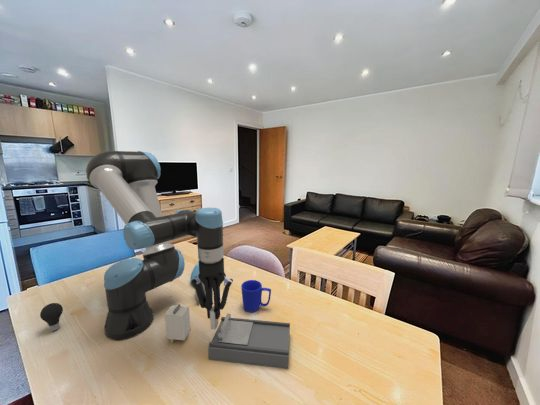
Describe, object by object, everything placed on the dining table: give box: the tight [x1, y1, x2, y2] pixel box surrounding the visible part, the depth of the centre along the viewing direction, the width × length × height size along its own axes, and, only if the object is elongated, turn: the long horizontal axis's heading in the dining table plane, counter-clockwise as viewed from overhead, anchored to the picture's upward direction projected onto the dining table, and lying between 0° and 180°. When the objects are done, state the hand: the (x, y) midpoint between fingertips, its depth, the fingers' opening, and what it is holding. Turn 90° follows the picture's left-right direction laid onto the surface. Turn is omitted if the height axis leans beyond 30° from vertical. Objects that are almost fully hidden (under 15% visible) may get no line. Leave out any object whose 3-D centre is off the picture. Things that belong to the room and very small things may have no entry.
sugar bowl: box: [190, 261, 199, 284], centre depth 111 cm, size 15×15×12 cm
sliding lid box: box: [207, 316, 291, 369], centre depth 73 cm, size 24×13×5 cm, turn 83°
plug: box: [164, 303, 191, 344], centre depth 75 cm, size 6×4×12 cm
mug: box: [240, 279, 272, 312], centre depth 91 cm, size 8×12×10 cm
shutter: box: [218, 313, 253, 346], centre depth 73 cm, size 9×10×4 cm
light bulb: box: [39, 302, 64, 332], centre depth 78 cm, size 6×6×10 cm
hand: (214, 326), depth 73 cm, fingers closed
